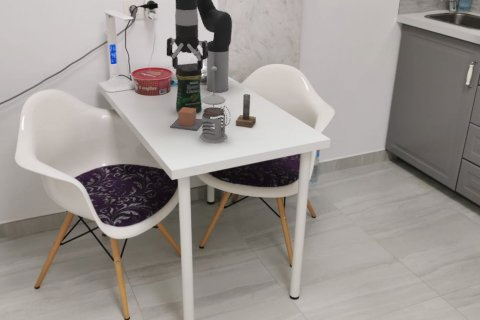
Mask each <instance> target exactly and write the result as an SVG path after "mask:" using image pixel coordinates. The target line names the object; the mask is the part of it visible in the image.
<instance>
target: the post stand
mask: <svg viewBox="0 0 480 320" xmlns="http://www.w3.org/2000/svg"><path fill="white" fill-rule="evenodd" d="M250 108H251V94H248V93H245V94H243V101H242V114H240V115H238V117H237V118H236V120H235V126H236V127H244V128H253V127H254V125H255V124H256V120H257V118H256V117H257V116H252V115H250V112H251V111H250Z"/></svg>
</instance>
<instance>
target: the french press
mask: <svg viewBox="0 0 480 320" xmlns="http://www.w3.org/2000/svg"><path fill="white" fill-rule="evenodd" d="M211 70H212V71H216V70H217V68H216V67H212V68H211ZM226 100H227V99H226V98H225V97H224V96H222V95H220V94H217V93H216V94H215V92H214V85H213V92H212V93H211V94H207V95H205V96H203V97H201V102H202V103H204V104H206V105H210V106H208V107H206V108H204V109H203V110H202V112H203V113H202V115H201V119H202V125H201V129H202V130H201V132H202V133H201V134H200V135H199V137H198V138H199V139H200V140H201V141H202V142H205V143H210V144H216V143H217V144H218V143H223V142H226V140H228V137H229V136H228V135H227V134H226V127H227V126H228V125H230V122H231V119H229V122H228V115H227V112H226V110H225V108H226V109H227V111H228V114H229V116H231V112H230V109H229V108H228V107H227V106H226V105H223V107H222V106H220V107H217V106H218V105H222V104H224V103H225V102H226ZM215 105H216V106H215ZM211 106H212V107H211ZM215 117H216V118H215Z"/></svg>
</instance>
